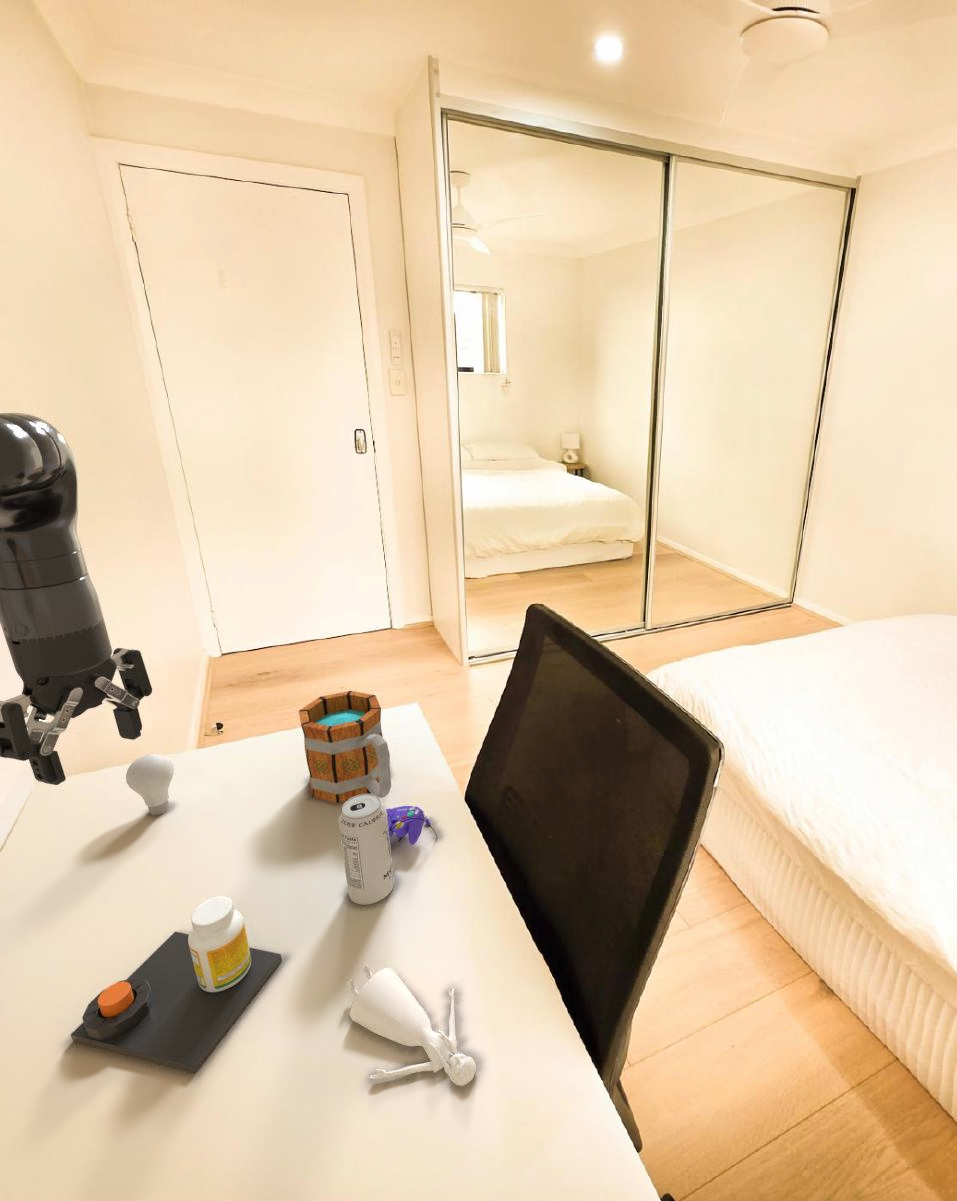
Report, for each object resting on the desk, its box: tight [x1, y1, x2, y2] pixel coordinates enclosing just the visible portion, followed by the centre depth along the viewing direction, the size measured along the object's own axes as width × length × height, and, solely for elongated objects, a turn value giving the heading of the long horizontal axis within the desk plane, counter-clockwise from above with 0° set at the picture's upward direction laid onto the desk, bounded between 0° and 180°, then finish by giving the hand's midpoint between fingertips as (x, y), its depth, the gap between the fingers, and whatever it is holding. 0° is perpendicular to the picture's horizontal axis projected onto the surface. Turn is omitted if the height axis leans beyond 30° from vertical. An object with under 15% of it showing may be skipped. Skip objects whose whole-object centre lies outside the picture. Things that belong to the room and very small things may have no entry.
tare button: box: [98, 981, 134, 1018], centre depth 64 cm, size 3×3×2 cm
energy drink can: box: [337, 793, 395, 906], centre depth 81 cm, size 6×6×15 cm
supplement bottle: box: [188, 895, 251, 992], centre depth 68 cm, size 5×5×10 cm
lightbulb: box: [125, 753, 175, 816], centre depth 95 cm, size 6×6×11 cm
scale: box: [70, 931, 283, 1074], centre depth 67 cm, size 15×13×4 cm
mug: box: [298, 690, 392, 804], centre depth 102 cm, size 20×14×15 cm
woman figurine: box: [346, 964, 477, 1087], centre depth 65 cm, size 12×4×18 cm
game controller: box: [386, 805, 438, 846], centre depth 92 cm, size 10×8×10 cm
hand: (94, 758), depth 65 cm, fingers open, 8 cm apart
